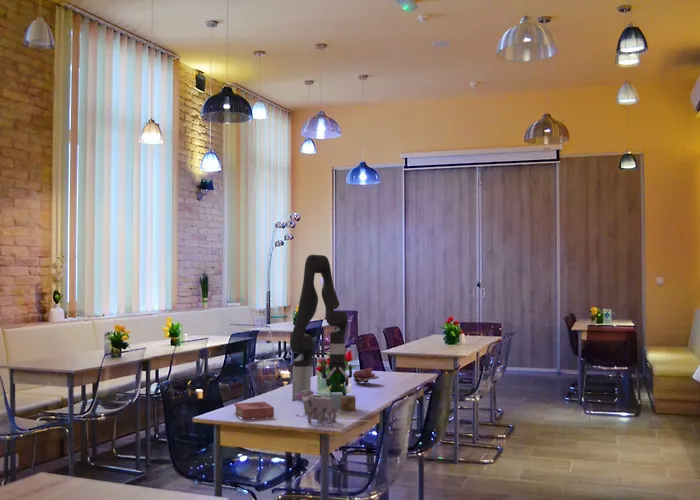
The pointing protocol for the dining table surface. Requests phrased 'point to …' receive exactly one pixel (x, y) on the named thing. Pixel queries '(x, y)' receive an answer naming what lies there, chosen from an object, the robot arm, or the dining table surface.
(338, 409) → the build board
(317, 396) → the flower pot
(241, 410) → the book
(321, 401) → the toy sheep
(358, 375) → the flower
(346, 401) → the brown wooden cube
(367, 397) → the dining table surface
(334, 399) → the grey cube
